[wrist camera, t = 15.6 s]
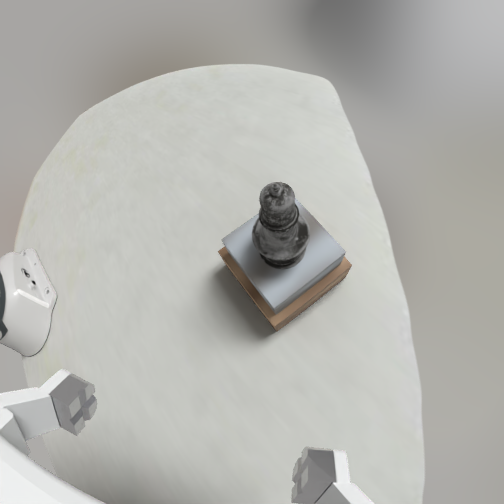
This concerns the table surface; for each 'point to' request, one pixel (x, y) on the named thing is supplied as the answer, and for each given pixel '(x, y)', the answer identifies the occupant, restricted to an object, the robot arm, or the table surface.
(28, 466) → the robot arm
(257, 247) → the salt shaker
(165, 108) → the table surface
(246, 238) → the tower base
